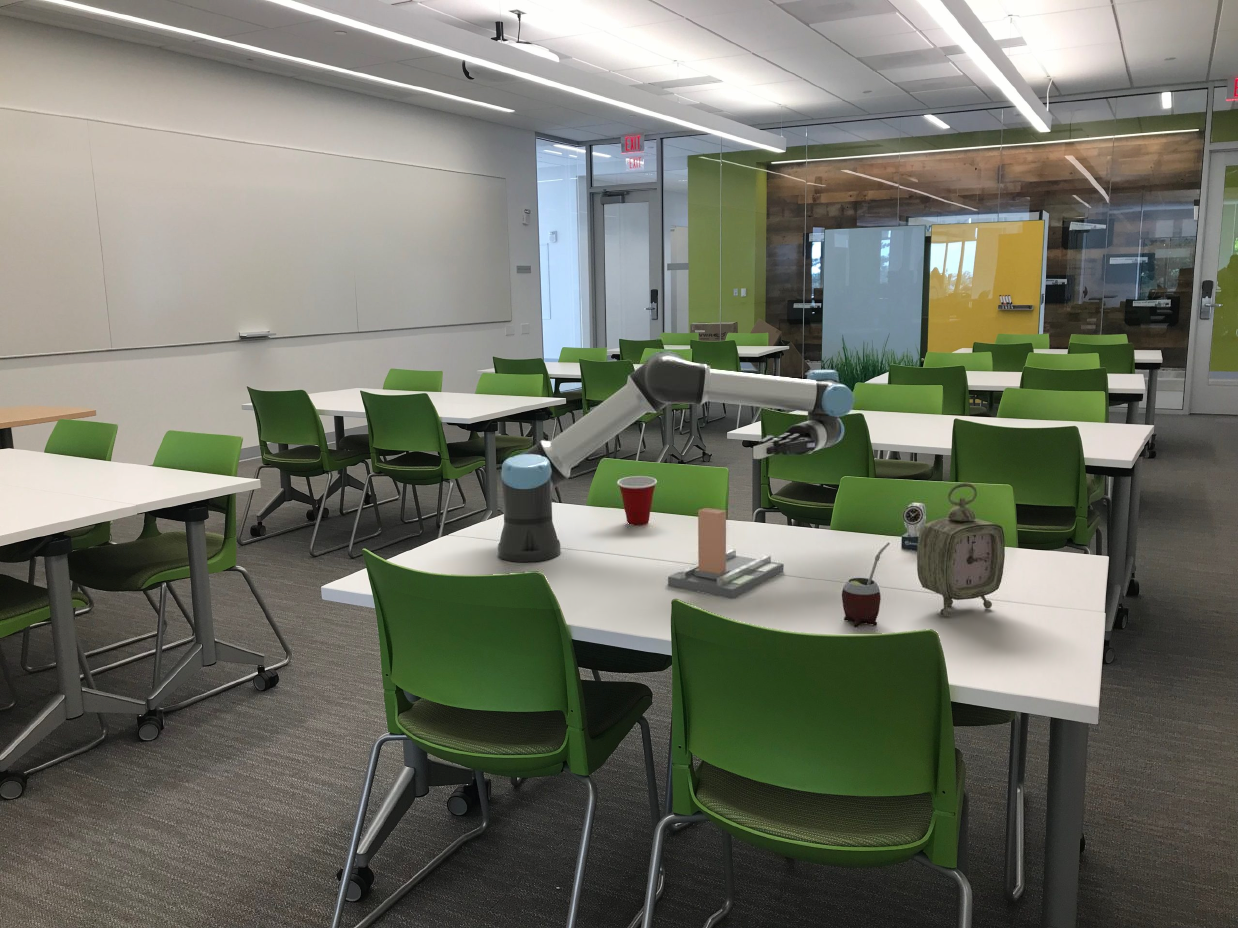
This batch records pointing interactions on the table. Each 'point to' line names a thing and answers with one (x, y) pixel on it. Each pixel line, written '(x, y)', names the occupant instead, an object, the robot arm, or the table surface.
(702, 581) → the switch panel
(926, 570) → the tabletop clock
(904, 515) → the watch
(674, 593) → the table surface
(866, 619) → the mate gourd
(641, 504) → the plastic cup
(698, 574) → the switch lever
